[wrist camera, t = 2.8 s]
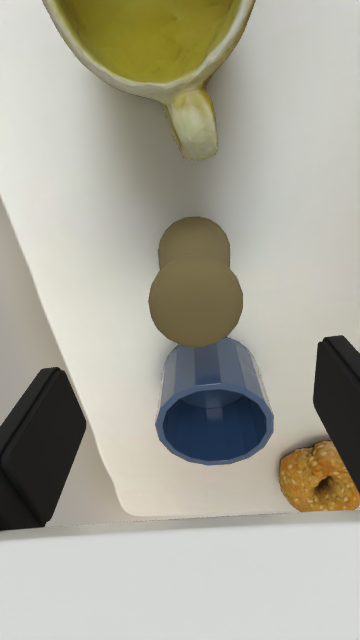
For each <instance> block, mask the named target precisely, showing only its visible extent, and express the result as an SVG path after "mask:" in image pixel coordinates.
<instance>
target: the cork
mask: <svg viewBox="0 0 360 640" xmlns="http://www.w3.org/2000/svg"><path fill="white" fill-rule="evenodd" d="M158 256H159V266H160V271H159V273H158V274H157V276H156V278H155V279H154V281H153V283H152V285H151V289H150V294H149V300H148V302H149V308H150V314H151V318H152V320H153V321H154V323H155V325H156V327H157V329H158V330H159V331H160V332H161V333H162V334H163V335H164V336H165V337H167V338H168V339H170V340H172V341H174V342H176V343H178V344H180V345H183V346H188V347H205V346H208V345H211V344H214V343H217V342H218V341H220V340H221V339H223V338H224V337H226V336H227V335H229V334H230V332H231V331H232V330H233V329H234V327H235V326H236V325H237V324H238V321H239V318H240V315H241V313H242V308H243V293H242V290H241V287H240V284H239V282H238V279H237V277H236V276H235V274H234V273H233V272H232V271H231V270H230V244H229V242H228V239H227V236H226V234H225V233H224V231H223V230H222V229H221V228H220V226H219V225H217V224H216V223H214V222H212V221H211V220H209V219H206V218H201V217H187V218H183V219H181V220H179V221H177V222H175V223H173V224H172V225H171V226H170V227H169V228H168V229H167V230H166V231H165V233H164V235H163V236H162V238H161V240H160V244H159V249H158Z"/></svg>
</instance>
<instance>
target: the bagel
mask: <svg viewBox="0 0 360 640" xmlns="http://www.w3.org/2000/svg"><path fill="white" fill-rule="evenodd" d="M279 477H280V480H279V483H280V486H281V491H282V493H283V495H284V496H285V497H286V498H287V500H288V501H289V503H290V504H291V505H292V506H293V507H294V508H296V509H297V510H299V511H300V512H315V511H343V510H355V509H356V508H357V507H358V506H359V504H360V494H359V492H358V490H357V488H356V486H355V484H354V482H353V481H352V479H351V477H350V475H349V473H348V471H347V469H346V467H345V465H344V463H343V461H342V459H341V457H340V456H339V454H338V452H337V450H336V448H335V446H334V444H333V442H332V441H321V442H319V443H316V444H315V445H314V447H313V448H309V449H307V448H302V449H296V451H294V452H293V453H291V454H290V455H287V456H286V457H285V458H283V459H282V460H281V464H280V469H279Z"/></svg>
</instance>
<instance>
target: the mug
mask: <svg viewBox="0 0 360 640" xmlns="http://www.w3.org/2000/svg"><path fill="white" fill-rule="evenodd" d="M42 1H43V4H44V5H45V7H46V9H47V11H48V13H49V15H50V17H51V19H52V21H53V23H54V25H55V26H56V28H57V30H58V32H59V33H60V35H61V37H62V38H63V40H64V41H65V42H66V44H67V45H68V47H69V48H70V49H71V51H72V52H73V53H74V55H75V56H76V57H77V58H78V60H79V61H80V62H81V63H82V64H83V65H84V66H86V67H87V68H88V69H89V70H90V71H91V72H93V73H94V74H95V75H97V76H98V77H100V78H101V79H102V80H103V81H105V82H106V83H108V84H109V85H111V86H113V87H115V88H117V89H119V90H121V91H124V92H127V93H131V94H134V95H138V96H142V97H147V98H150V99H153V100H156V101H159V102H160V103H161V105H162V107H163V108H164V111H165V114H166V117H167V119H168V122H169V127H170V131H171V134H172V136H173V138H174V140H175V142H176V143H177V145H178V147H179V150H180V152H181V155H182V157H183V158H185V159H187V160H198V161H199V160H203V159H206V158H209V157H211V156H213V155H216V153H217V151H218V138H217V131H216V121H215V115H214V110H213V104H212V101H211V98H210V97H209V95H208V93H207V91H206V85H207V83H208V81H209V79H210V78H211V76H212V74H213V73H214V72H215V71H216V70H217V69H218V68H219V66H220V65H221V64H222V63H223V62H224V61H225V60H226V59H227V57H228V56H229V55H230V53H231V52H232V51H233V49H234V48H235V46H236V45H237V43H238V41H239V40H240V38H241V36H242V34H243V32H244V30H245V27H246V25H247V22H248V20H249V17H250V15H251V12H252V9H253V6H254V3H255V0H42Z"/></svg>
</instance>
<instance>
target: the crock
mask: <svg viewBox="0 0 360 640" xmlns="http://www.w3.org/2000/svg"><path fill="white" fill-rule="evenodd" d="M155 426H156V429H157V433H158V437H159V440H160V441H161V442H162V443H163V445H164V446H165V447H166V448H167V449H168V450H169V451H170V452H171V453H172V454H174V455H176V456H178V457H180V458H182V459H184V460H186V461H189V462H193V463H198V464H204V465H224V464H232V463H235V462H238V461H241V460H244V459H247V458H249V457H251V456H252V455H254V454H255V453H256V452H258V451H259V450H261V449H262V448H263V447H264V446H265V445H266V443H267V442H268V440H269V438H270V437H271V435H272V433H273V426H274V416H273V412H272V409H271V406H270V403H269V400H268V397H267V393H266V390H265V387H264V384H263V381H262V378H261V375H260V372H259V369H258V366H257V364H256V362H255V360H254V358H253V356H252V354H251V353H250V352H249V350H248V349H247V348H246V347H244V346H243V345H242V344H240V343H238V342H237V341H235V340H232V339H230V338H226V337H224V338H223V339H221V340H220V341H218V342H217V343H214V344H211V345H208V346H205V347H188V346H183V345H179V346H177V347H176V348H175V349H174V350H173V351H172V352H171V353H170V355H169V356H168V358H167V359H166V362H165V364H164V369H163V373H162V378H161V386H160V393H159V401H158V408H157V415H156V423H155Z"/></svg>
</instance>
